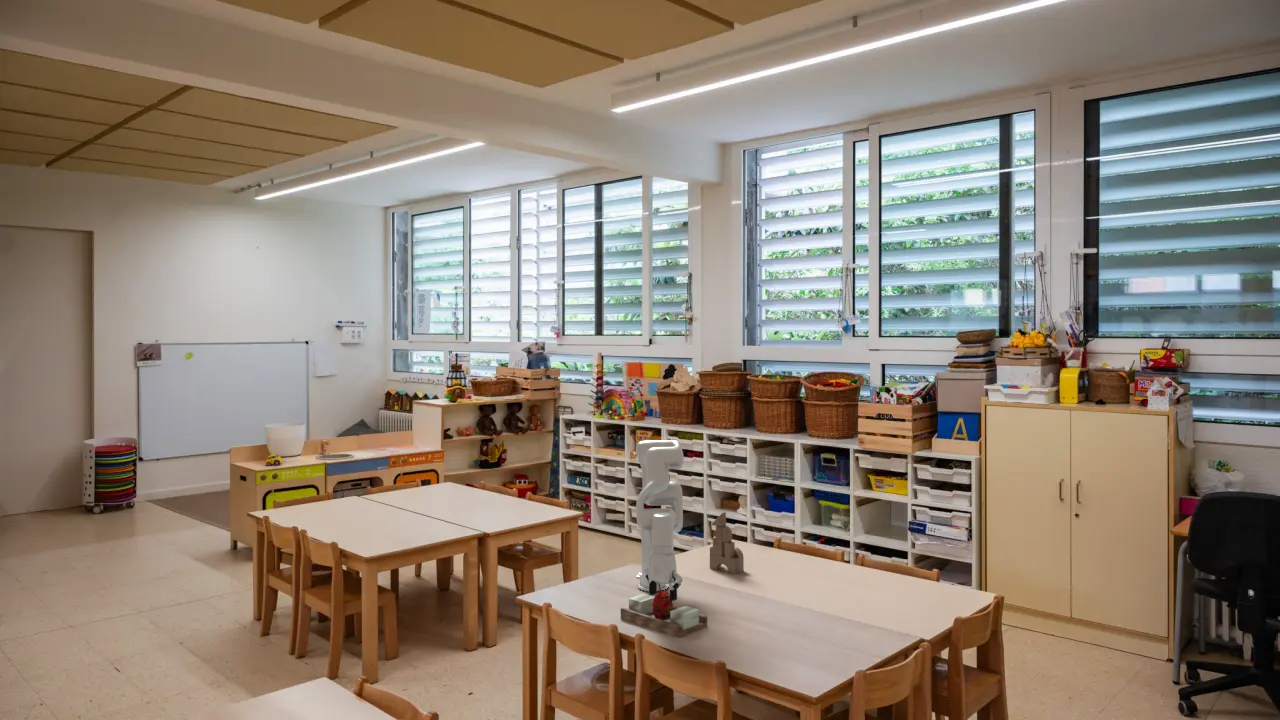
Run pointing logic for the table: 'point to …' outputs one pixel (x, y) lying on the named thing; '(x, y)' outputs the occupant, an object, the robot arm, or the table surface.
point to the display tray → (676, 625)
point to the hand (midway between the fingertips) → (663, 597)
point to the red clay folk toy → (662, 605)
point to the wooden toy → (725, 548)
